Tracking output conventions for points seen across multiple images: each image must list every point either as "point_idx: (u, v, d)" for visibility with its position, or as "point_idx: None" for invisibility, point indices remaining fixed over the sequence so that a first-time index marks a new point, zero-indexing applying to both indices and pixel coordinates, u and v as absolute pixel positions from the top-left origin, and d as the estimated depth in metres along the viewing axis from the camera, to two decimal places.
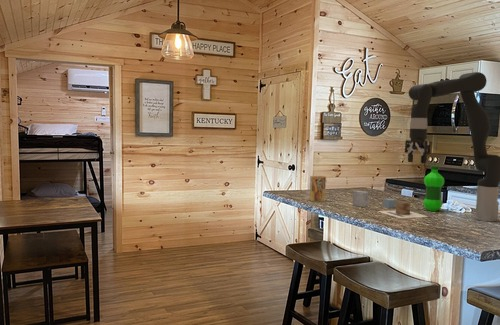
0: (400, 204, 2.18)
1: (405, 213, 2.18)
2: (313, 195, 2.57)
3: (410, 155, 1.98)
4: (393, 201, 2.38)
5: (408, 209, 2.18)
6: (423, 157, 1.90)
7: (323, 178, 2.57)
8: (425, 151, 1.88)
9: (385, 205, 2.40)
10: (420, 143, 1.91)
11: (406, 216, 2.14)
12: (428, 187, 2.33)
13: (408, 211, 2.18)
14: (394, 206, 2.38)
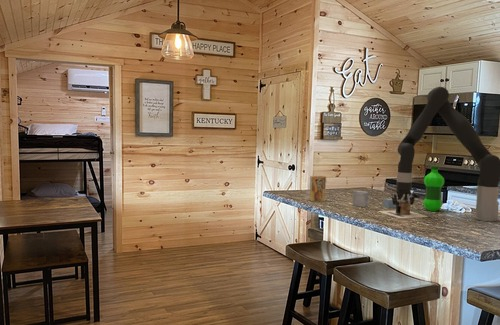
0: None
1: (405, 213, 2.18)
2: (313, 195, 2.57)
3: None
4: None
5: (408, 209, 2.18)
6: None
7: (323, 178, 2.57)
8: (412, 202, 2.21)
9: (385, 205, 2.40)
10: (409, 195, 2.20)
11: (406, 216, 2.14)
12: (428, 187, 2.33)
13: (408, 211, 2.18)
14: (394, 206, 2.38)
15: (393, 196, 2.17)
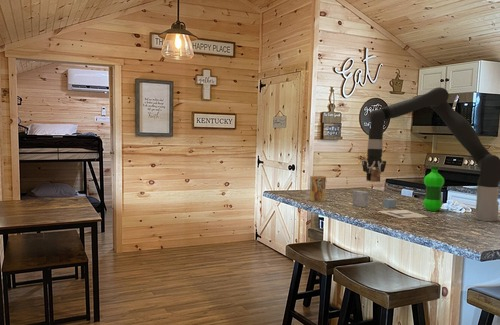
0: None
1: (375, 180, 2.18)
2: (313, 195, 2.57)
3: None
4: (393, 201, 2.38)
5: (378, 176, 2.18)
6: None
7: (323, 178, 2.57)
8: (383, 169, 2.20)
9: (385, 205, 2.40)
10: (380, 162, 2.19)
11: (406, 216, 2.14)
12: (428, 187, 2.33)
13: (378, 178, 2.18)
14: (394, 206, 2.38)
15: (363, 163, 2.17)
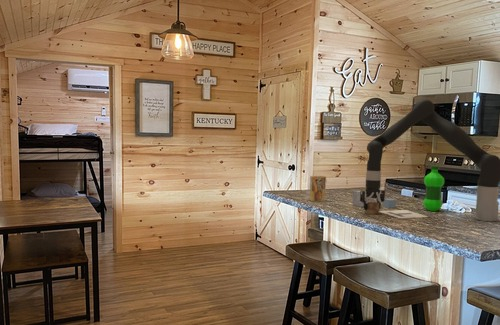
0: (369, 204, 2.19)
1: (374, 213, 2.19)
2: (313, 195, 2.57)
3: None
4: (393, 201, 2.38)
5: (377, 209, 2.19)
6: (380, 204, 2.22)
7: (323, 178, 2.57)
8: (383, 199, 2.22)
9: (385, 205, 2.40)
10: (378, 192, 2.20)
11: (406, 216, 2.14)
12: (428, 187, 2.33)
13: (376, 211, 2.19)
14: (394, 206, 2.38)
15: (361, 193, 2.18)
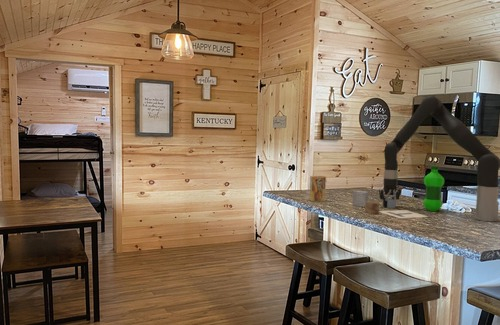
0: (369, 204, 2.19)
1: (374, 213, 2.19)
2: (313, 195, 2.57)
3: None
4: (393, 201, 2.38)
5: (377, 209, 2.19)
6: None
7: (323, 178, 2.57)
8: (398, 197, 2.40)
9: None
10: (395, 190, 2.40)
11: (406, 216, 2.14)
12: (428, 187, 2.33)
13: (376, 211, 2.19)
14: (394, 206, 2.38)
15: (380, 191, 2.37)
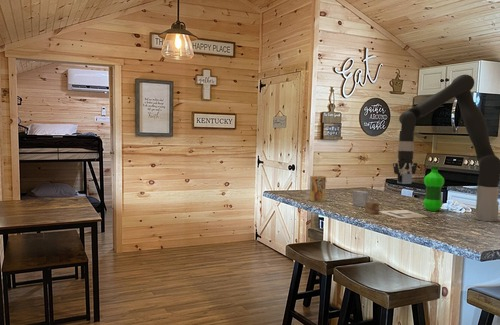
0: (369, 204, 2.19)
1: (374, 213, 2.19)
2: (313, 195, 2.57)
3: None
4: (409, 175, 2.17)
5: (377, 209, 2.19)
6: None
7: (323, 178, 2.57)
8: (414, 171, 2.19)
9: None
10: (411, 164, 2.19)
11: (406, 216, 2.14)
12: (428, 187, 2.33)
13: (376, 211, 2.19)
14: (410, 181, 2.17)
15: (395, 165, 2.16)
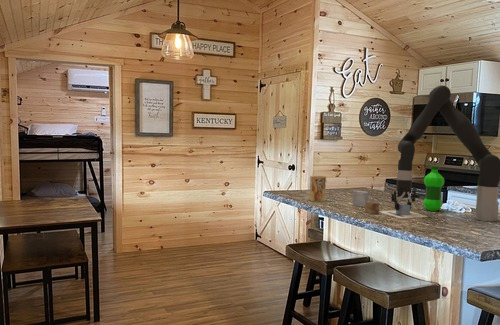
0: (369, 204, 2.19)
1: (374, 213, 2.19)
2: (313, 195, 2.57)
3: None
4: (407, 207, 2.18)
5: (377, 209, 2.19)
6: None
7: (323, 178, 2.57)
8: (414, 199, 2.21)
9: (398, 211, 2.20)
10: (409, 192, 2.20)
11: (406, 216, 2.14)
12: (428, 187, 2.33)
13: (376, 211, 2.19)
14: (408, 212, 2.18)
15: (393, 193, 2.17)
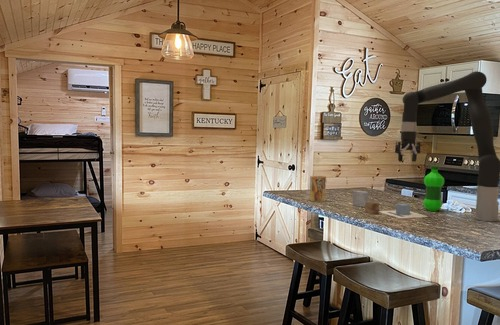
0: (369, 204, 2.19)
1: (374, 213, 2.19)
2: (313, 195, 2.57)
3: None
4: (407, 207, 2.18)
5: (377, 209, 2.19)
6: (416, 156, 2.21)
7: (323, 178, 2.57)
8: (419, 151, 2.20)
9: (398, 211, 2.20)
10: (414, 144, 2.19)
11: (406, 216, 2.14)
12: (428, 187, 2.33)
13: (376, 211, 2.19)
14: (408, 212, 2.18)
15: (397, 143, 2.17)
